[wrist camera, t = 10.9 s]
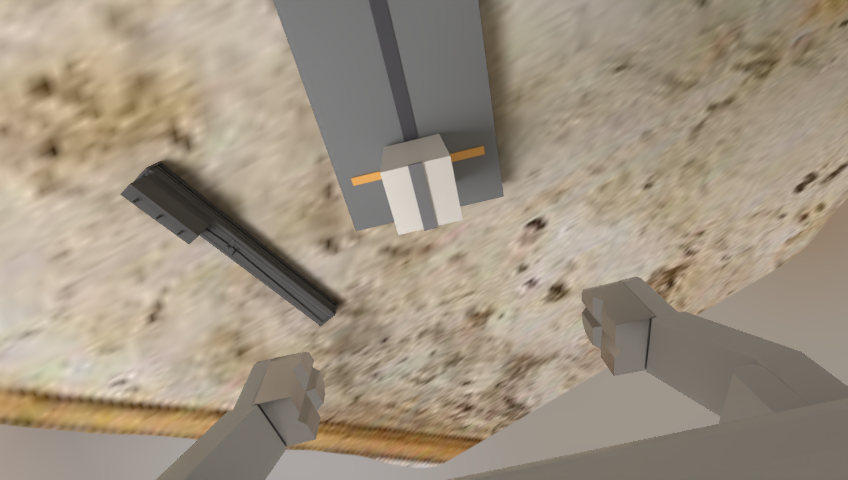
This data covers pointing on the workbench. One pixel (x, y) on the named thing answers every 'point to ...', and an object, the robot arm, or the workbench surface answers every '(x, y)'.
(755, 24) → the workbench surface
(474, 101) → the slider console
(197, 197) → the dark grey bar
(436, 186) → the fader cap
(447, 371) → the workbench surface
